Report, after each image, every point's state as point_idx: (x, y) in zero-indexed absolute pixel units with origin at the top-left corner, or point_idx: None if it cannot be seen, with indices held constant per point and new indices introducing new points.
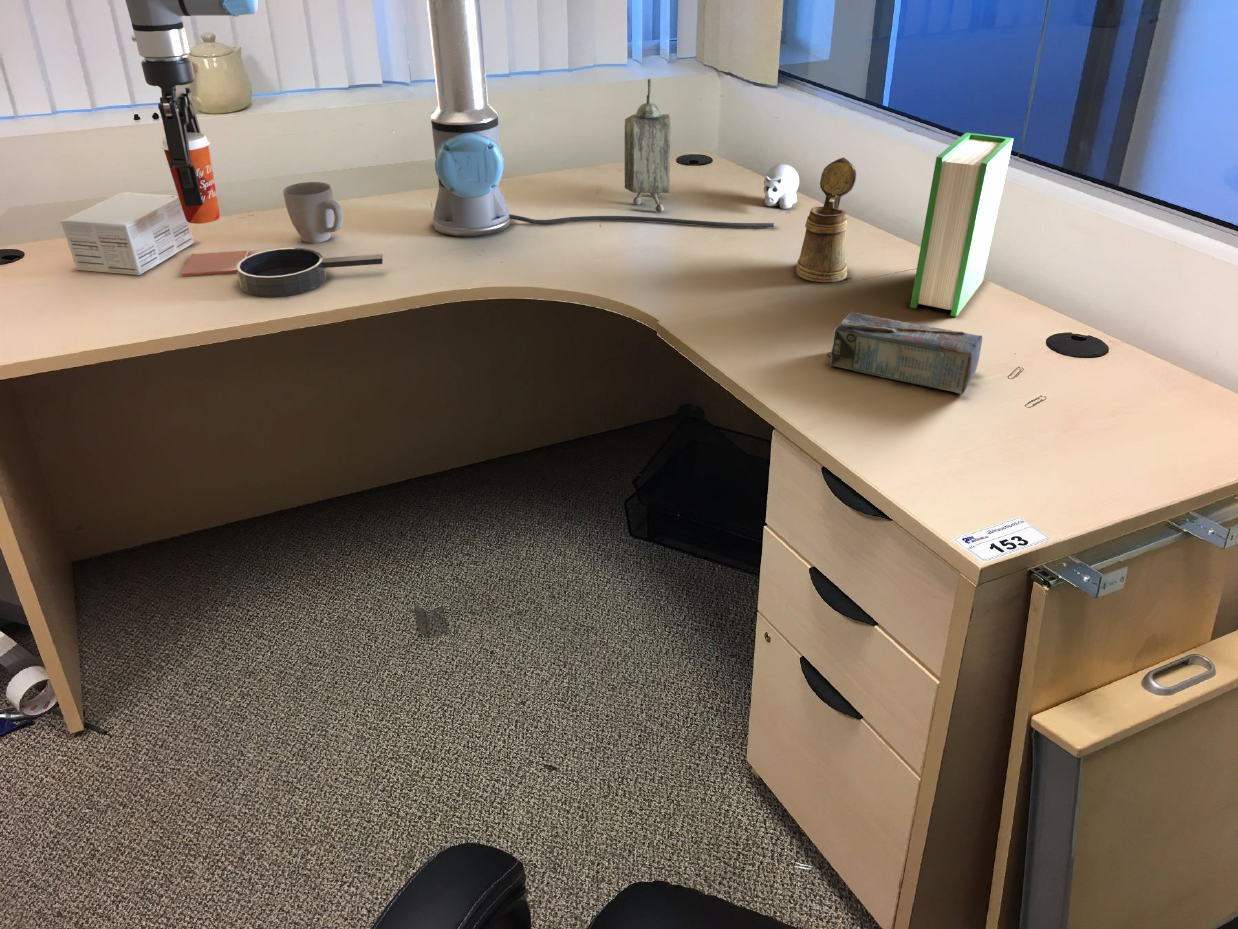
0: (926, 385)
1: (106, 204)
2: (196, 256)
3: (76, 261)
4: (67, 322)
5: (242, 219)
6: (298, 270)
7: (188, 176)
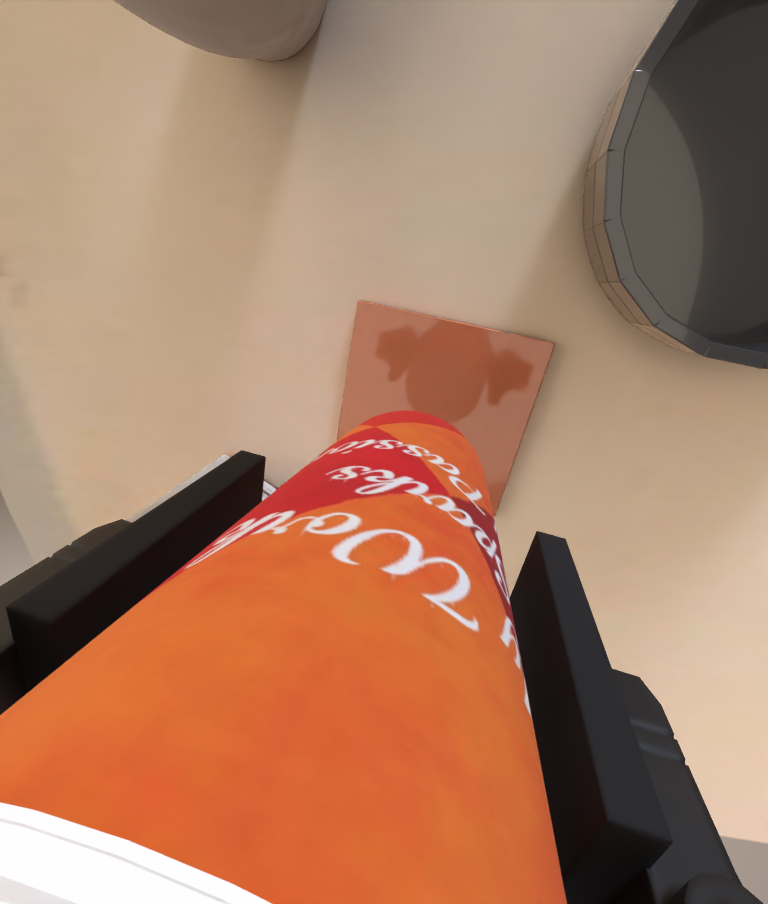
0: None
1: None
2: None
3: None
4: (687, 755)
5: (30, 297)
6: (698, 87)
7: (696, 797)
